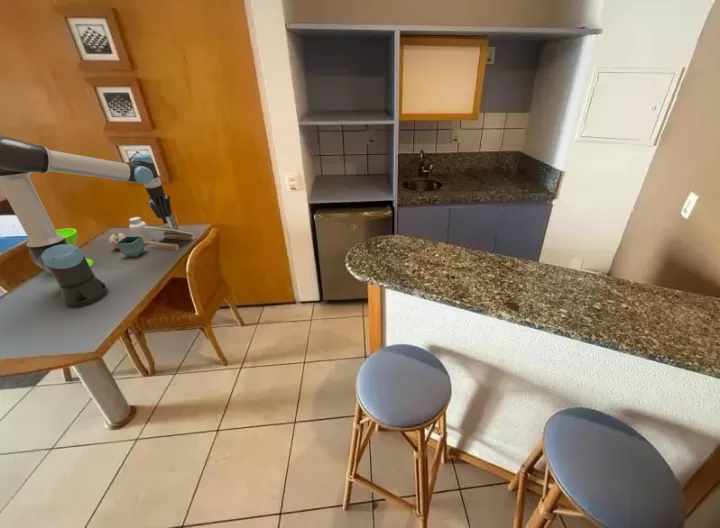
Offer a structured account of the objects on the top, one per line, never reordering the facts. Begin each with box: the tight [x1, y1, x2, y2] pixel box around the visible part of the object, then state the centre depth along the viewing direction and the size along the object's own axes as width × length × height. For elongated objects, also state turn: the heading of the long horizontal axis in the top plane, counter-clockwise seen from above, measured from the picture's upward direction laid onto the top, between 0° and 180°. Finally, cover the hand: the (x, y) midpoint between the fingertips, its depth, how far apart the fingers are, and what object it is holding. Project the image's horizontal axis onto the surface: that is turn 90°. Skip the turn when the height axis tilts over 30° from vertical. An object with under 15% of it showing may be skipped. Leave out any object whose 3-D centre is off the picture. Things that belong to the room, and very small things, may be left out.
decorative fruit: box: [108, 231, 127, 249], centre depth 170 cm, size 9×8×10 cm
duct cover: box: [144, 224, 195, 235], centre depth 174 cm, size 14×20×1 cm
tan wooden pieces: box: [145, 208, 196, 252], centre depth 175 cm, size 20×20×18 cm
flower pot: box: [116, 235, 145, 258], centre depth 164 cm, size 9×9×9 cm
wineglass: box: [55, 227, 94, 267], centre depth 151 cm, size 16×16×18 cm
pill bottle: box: [128, 216, 154, 246], centre depth 175 cm, size 8×8×15 cm
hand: (169, 228), depth 170 cm, fingers closed
